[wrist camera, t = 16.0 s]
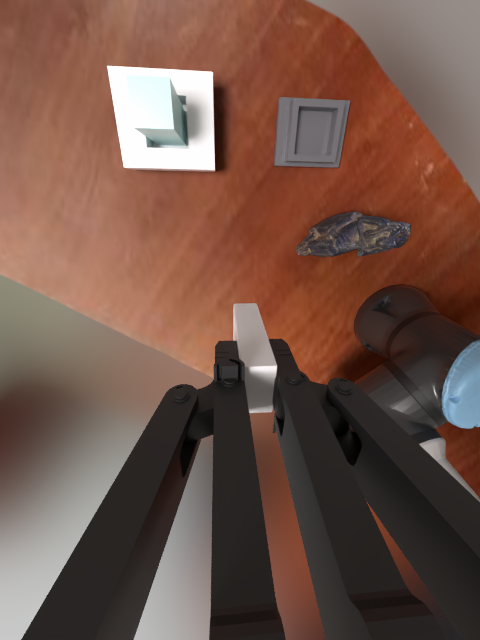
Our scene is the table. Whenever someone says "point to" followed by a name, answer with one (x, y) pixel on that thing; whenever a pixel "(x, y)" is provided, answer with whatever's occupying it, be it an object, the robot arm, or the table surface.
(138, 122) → the plug
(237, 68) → the table surface
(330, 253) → the carved stone figurine
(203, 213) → the table surface
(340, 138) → the grey socket
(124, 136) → the port
